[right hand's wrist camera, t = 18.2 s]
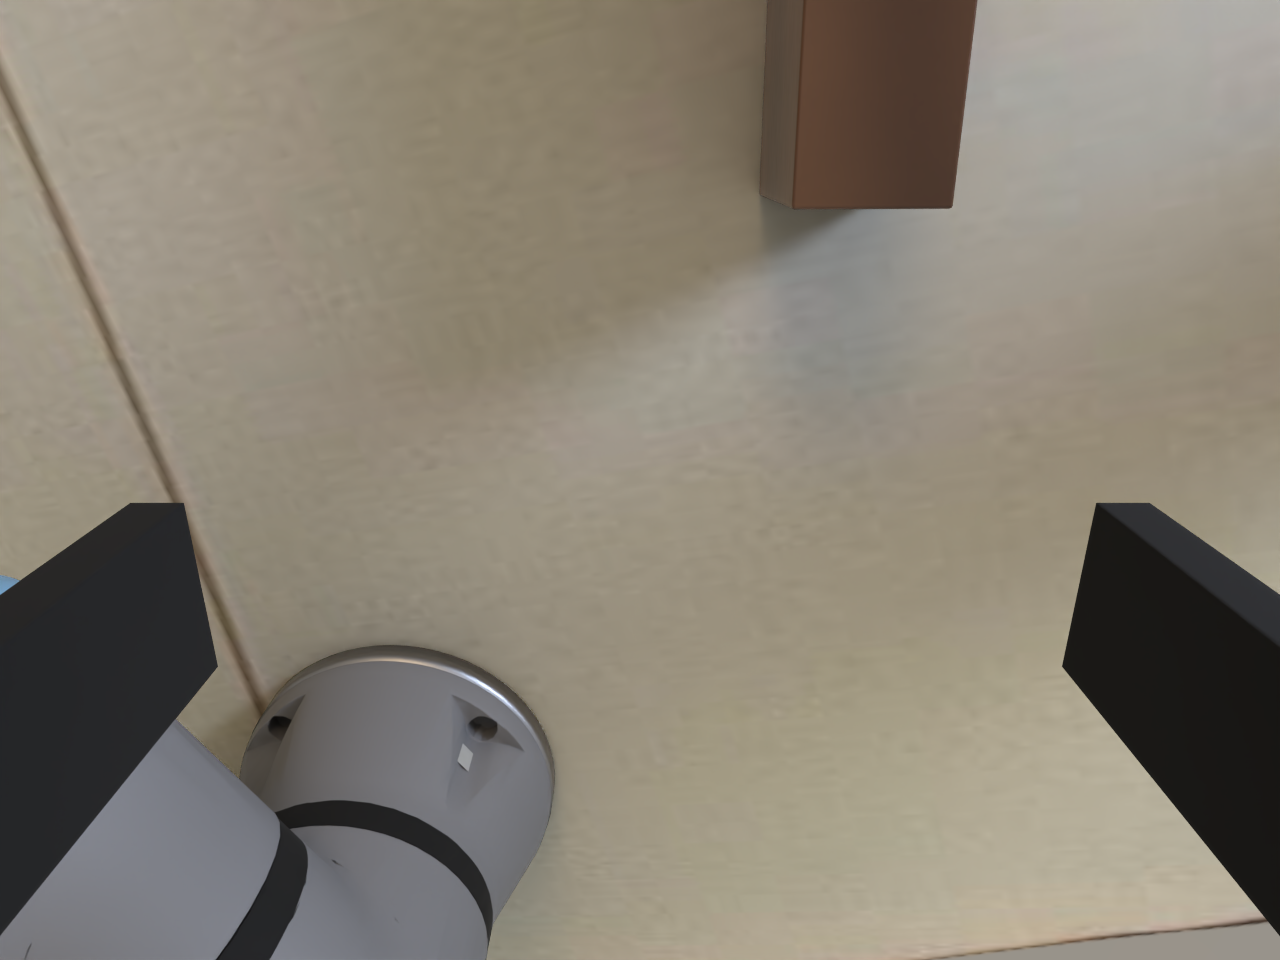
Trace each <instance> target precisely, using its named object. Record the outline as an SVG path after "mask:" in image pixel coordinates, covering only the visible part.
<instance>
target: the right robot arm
mask: <svg viewBox="0 0 1280 960" xmlns="http://www.w3.org/2000/svg"><path fill="white" fill-rule="evenodd" d="M217 667H218V665H217V660H216V655H215V651H214V646H213V641H212V636H211V631H210V627H209V622H208V617H207V612H206V607H205V603H204V598H203V593H202V588H201V583H200V579H199V574H198V569H197V564H196V560H195V555H194V550H193V545H192V540H191V536H190V531H189V526H188V521H187V516H186V512H185V507H184V503H130V504H128V505H127V506H125V507H124V508H123V509H121V510H120V511H118V512H117V513H116V514H114V515H113V516H111V517H110V518H108V519H107V520H106V521H104V522H103V523H101V524H100V525H99V526H97V527H96V528H94V529H93V530H91V531H90V532H89V533H87V534H86V535H84V536H83V537H81V538H80V539H79V540H77V541H76V542H74V543H73V544H72V545H70V546H69V547H67V548H66V549H64V550H63V551H62V552H60V553H59V554H57V555H56V556H55V557H53V558H52V559H50V560H49V561H47V562H46V563H45V564H43V565H42V566H40V567H39V568H37V569H36V570H35V571H33V572H32V573H30V574H29V575H28V576H26V577H25V578H23V579H22V580H20V581H19V580H17V579H14V578H11V577H7V576H3V575H0V960H486V957H487V951H488V945H489V940H490V935H491V930H492V926H493V923H494V922H495V920H496V918H497V917H498V915H499V913H500V912H501V910H502V909H503V907H504V905H505V904H506V902H507V900H508V899H509V897H510V895H511V894H512V892H513V891H514V889H515V887H516V886H517V884H518V882H519V881H520V879H521V877H522V876H523V874H524V873H525V871H526V869H527V868H528V866H529V864H530V863H531V861H532V859H533V858H534V856H535V854H536V852H537V850H538V848H539V846H540V844H541V842H542V839H543V836H544V833H545V830H546V827H547V825H548V821H549V817H550V814H551V807H552V799H553V792H554V779H555V772H554V763H553V758H552V753H551V749H550V746H549V743H548V741H547V738H546V736H545V734H544V732H543V730H542V727H541V726H540V724H539V722H538V721H537V719H536V718H535V716H534V714H533V713H532V712H531V711H530V709H529V708H528V707H527V705H526V704H525V703H524V702H523V701H522V700H521V699H520V698H519V697H518V696H517V695H516V694H515V693H514V692H513V691H512V690H511V689H510V688H509V687H507V686H506V685H505V684H504V683H502V682H501V681H500V680H498V679H497V678H496V677H494V676H493V675H491V674H489V673H488V672H486V671H484V670H483V669H481V668H479V667H477V666H475V665H473V664H471V663H469V662H467V661H465V660H462V659H459V658H457V657H454V656H452V655H448V654H445V653H442V652H438V651H434V650H429V649H425V648H419V647H411V646H397V645H383V646H370V647H362V648H357V649H352V650H348V651H344V652H341V653H338V654H334V655H331V656H329V657H327V658H324V659H322V660H320V661H318V662H316V663H314V664H312V665H310V666H309V667H307V668H305V669H304V670H302V671H301V672H300V673H298V674H297V675H295V676H294V677H293V678H292V679H291V680H290V681H288V682H287V683H286V684H285V685H284V686H283V687H282V689H281V690H280V691H279V692H278V693H277V694H276V696H275V697H274V698H273V700H272V701H271V703H270V704H269V706H268V707H267V709H266V710H265V712H264V713H263V715H262V716H261V718H260V719H259V721H258V723H257V725H256V727H255V729H254V731H253V733H252V736H251V738H250V741H249V743H248V745H247V748H246V751H245V754H244V757H243V761H242V765H241V772H240V778H239V779H238V778H237V777H236V776H235V775H234V774H233V773H232V772H231V771H230V770H229V769H228V768H227V767H226V766H225V765H224V764H223V763H222V762H220V761H219V760H218V759H217V758H216V757H215V756H214V755H213V754H212V753H211V752H210V751H209V750H208V749H207V748H206V747H205V746H204V745H203V744H201V743H200V742H199V741H198V740H197V739H196V738H195V737H194V736H193V735H192V734H191V733H190V732H189V731H188V730H187V729H186V728H185V727H184V726H182V725H181V724H180V723H179V722H178V721H177V720H176V718H177V716H178V715H179V714H180V713H181V711H182V710H183V709H184V708H185V707H186V705H187V704H188V703H189V702H190V700H191V699H192V698H193V697H194V695H195V694H196V693H197V692H198V690H199V689H200V688H201V687H202V686H203V684H204V683H205V682H206V681H207V679H208V678H209V677H210V676H211V674H212V673H213V672H214V671H215V669H216V668H217ZM1062 667H1063V668H1064V669H1065V671H1066V672H1067V673H1068V674H1069V676H1070V677H1071V678H1072V679H1073V681H1074V682H1075V683H1076V684H1077V686H1078V687H1079V688H1080V689H1081V690H1082V692H1083V693H1084V694H1085V695H1086V697H1087V698H1088V699H1089V700H1090V702H1091V703H1092V704H1093V705H1094V707H1095V708H1096V709H1097V710H1098V711H1099V713H1100V714H1101V715H1102V716H1103V718H1104V719H1105V720H1106V721H1107V723H1108V724H1109V725H1110V726H1111V728H1112V729H1113V730H1114V731H1115V733H1116V734H1117V735H1118V736H1119V737H1120V739H1121V740H1122V741H1123V742H1124V744H1125V745H1126V746H1127V747H1128V749H1129V750H1130V751H1131V752H1132V754H1133V755H1134V756H1135V757H1136V759H1137V760H1138V761H1139V762H1140V763H1141V765H1142V766H1143V767H1144V768H1145V770H1146V771H1147V772H1148V773H1149V775H1150V776H1151V777H1152V778H1153V780H1154V781H1155V782H1156V783H1157V785H1158V786H1159V787H1160V788H1161V789H1162V791H1163V792H1164V793H1165V794H1166V796H1167V797H1168V798H1169V799H1170V801H1171V802H1172V803H1173V804H1174V806H1175V807H1176V808H1177V809H1178V810H1179V812H1180V813H1181V814H1182V815H1183V817H1184V818H1185V819H1186V820H1187V822H1188V823H1189V824H1190V825H1191V827H1192V828H1193V829H1194V830H1195V832H1196V833H1197V834H1198V835H1199V836H1200V838H1201V839H1202V840H1203V841H1204V843H1205V844H1206V845H1207V846H1208V848H1209V849H1210V850H1211V851H1212V853H1213V854H1214V855H1215V856H1216V858H1217V859H1218V860H1219V861H1220V862H1221V864H1222V865H1223V866H1224V867H1225V869H1226V870H1227V871H1228V872H1229V874H1230V875H1231V876H1232V877H1233V879H1234V880H1235V881H1236V882H1237V884H1238V885H1239V886H1240V887H1241V888H1242V890H1243V891H1244V892H1245V893H1246V895H1247V896H1248V897H1249V898H1250V900H1251V901H1252V902H1253V903H1254V905H1255V906H1256V907H1257V908H1258V910H1259V911H1260V912H1261V913H1262V914H1263V916H1264V917H1265V918H1266V919H1267V921H1268V922H1269V923H1270V924H1271V926H1272V927H1273V928H1274V929H1275V931H1276V932H1277V933H1278V934H1279V935H1280V595H1279V594H1278V593H1277V592H1275V591H1274V590H1272V589H1271V588H1269V587H1268V586H1267V585H1265V584H1264V583H1262V582H1261V581H1260V580H1258V579H1257V578H1255V577H1254V576H1252V575H1251V574H1250V573H1248V572H1247V571H1245V570H1244V569H1243V568H1241V567H1240V566H1238V565H1237V564H1235V563H1234V562H1233V561H1231V560H1230V559H1228V558H1227V557H1225V556H1224V555H1223V554H1221V553H1220V552H1218V551H1217V550H1216V549H1214V548H1213V547H1211V546H1210V545H1208V544H1207V543H1206V542H1204V541H1203V540H1201V539H1200V538H1199V537H1197V536H1196V535H1194V534H1193V533H1191V532H1190V531H1189V530H1187V529H1186V528H1184V527H1183V526H1181V525H1180V524H1179V523H1177V522H1176V521H1174V520H1173V519H1172V518H1170V517H1169V516H1167V515H1166V514H1164V513H1163V512H1162V511H1160V510H1159V509H1157V508H1156V507H1155V506H1153V505H1152V504H1150V503H1096V507H1095V512H1094V516H1093V521H1092V526H1091V531H1090V536H1089V540H1088V545H1087V550H1086V555H1085V560H1084V564H1083V569H1082V574H1081V579H1080V583H1079V588H1078V593H1077V598H1076V603H1075V607H1074V612H1073V617H1072V622H1071V627H1070V631H1069V636H1068V641H1067V646H1066V651H1065V655H1064V660H1063V665H1062Z"/></svg>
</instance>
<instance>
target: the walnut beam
mask: <svg viewBox="0 0 1280 960" xmlns="http://www.w3.org/2000/svg"><path fill="white" fill-rule="evenodd" d="M976 8H977V0H768V4H767V27H766V50H765V74H764V97H763V120H762V143H761V167H760V190H759V193H760V195H762V196H764V197H766V198H769V199H771V200H773V201H776V202H778V203H781V204H783V205H785V206H788V207H790V208H792V209H949V208H952V206H953V198H954V190H955V182H956V173H957V165H958V157H959V148H960V140H961V132H962V124H963V115H964V107H965V99H966V91H967V82H968V74H969V66H970V57H971V49H972V41H973V33H974V24H975V16H976Z"/></svg>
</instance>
